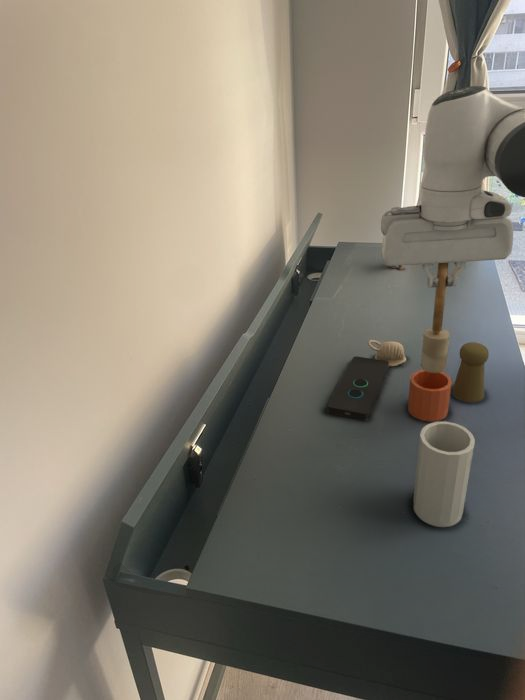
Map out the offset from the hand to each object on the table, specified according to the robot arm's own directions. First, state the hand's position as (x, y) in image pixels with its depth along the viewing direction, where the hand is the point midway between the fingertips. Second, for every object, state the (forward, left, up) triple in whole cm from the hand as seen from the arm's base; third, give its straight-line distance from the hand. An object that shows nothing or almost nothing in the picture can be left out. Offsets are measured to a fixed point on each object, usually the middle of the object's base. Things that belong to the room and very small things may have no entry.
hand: (441, 285), depth 89 cm
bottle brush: (0, 0, -16) cm, 16 cm away
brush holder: (0, 0, -26) cm, 26 cm away
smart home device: (+12, -8, -26) cm, 30 cm away
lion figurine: (-9, -75, -26) cm, 80 cm away
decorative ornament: (+5, -18, -26) cm, 32 cm away
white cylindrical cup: (+4, +25, -26) cm, 36 cm away
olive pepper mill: (-9, -5, -26) cm, 28 cm away
